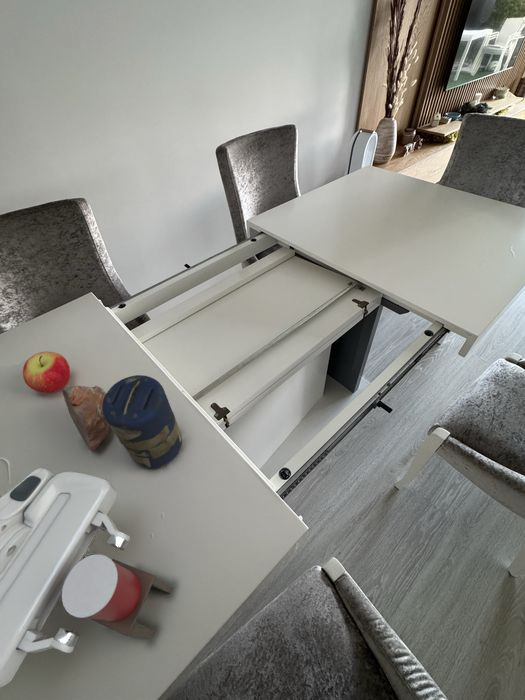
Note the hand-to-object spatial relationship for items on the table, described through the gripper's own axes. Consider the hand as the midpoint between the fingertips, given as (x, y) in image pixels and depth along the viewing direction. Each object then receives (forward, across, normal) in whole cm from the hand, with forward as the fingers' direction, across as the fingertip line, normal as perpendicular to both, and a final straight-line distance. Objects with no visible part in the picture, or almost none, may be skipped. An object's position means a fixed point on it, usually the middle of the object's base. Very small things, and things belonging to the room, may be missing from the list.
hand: (102, 589), depth 37 cm
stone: (-23, +23, +16) cm, 36 cm away
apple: (-38, +28, +16) cm, 50 cm away
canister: (-10, +22, +16) cm, 29 cm away
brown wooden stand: (0, 0, +16) cm, 16 cm away
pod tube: (0, 0, +5) cm, 5 cm away
